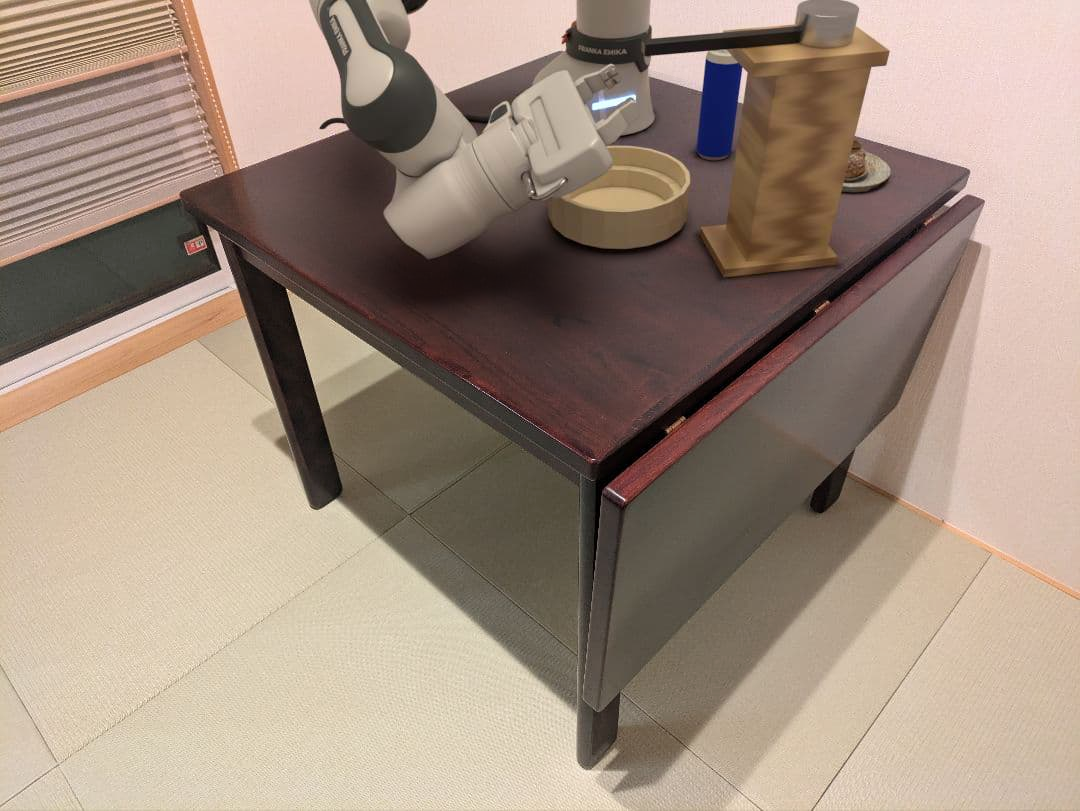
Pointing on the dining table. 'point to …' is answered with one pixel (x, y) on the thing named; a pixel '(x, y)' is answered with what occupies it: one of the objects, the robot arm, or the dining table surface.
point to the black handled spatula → (773, 32)
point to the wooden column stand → (791, 153)
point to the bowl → (626, 202)
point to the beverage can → (718, 105)
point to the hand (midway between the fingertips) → (627, 87)
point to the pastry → (864, 170)
